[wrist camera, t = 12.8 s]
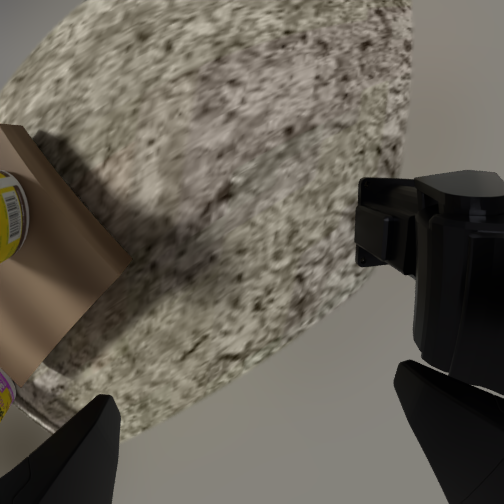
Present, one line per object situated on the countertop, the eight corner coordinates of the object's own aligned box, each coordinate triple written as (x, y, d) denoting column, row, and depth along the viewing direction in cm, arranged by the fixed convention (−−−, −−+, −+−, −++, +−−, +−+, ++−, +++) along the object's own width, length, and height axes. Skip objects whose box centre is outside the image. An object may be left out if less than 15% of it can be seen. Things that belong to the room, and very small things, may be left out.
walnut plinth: (29, 126, 15) (-3, 123, 12) (136, 254, 19) (119, 275, 16) (-44, 263, 17) (-69, 278, 13) (38, 362, 21) (21, 387, 17)
